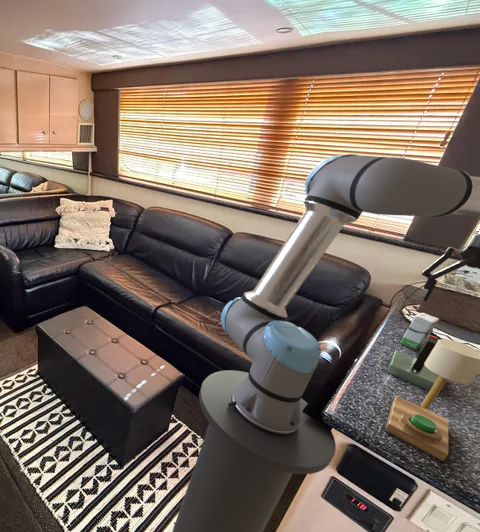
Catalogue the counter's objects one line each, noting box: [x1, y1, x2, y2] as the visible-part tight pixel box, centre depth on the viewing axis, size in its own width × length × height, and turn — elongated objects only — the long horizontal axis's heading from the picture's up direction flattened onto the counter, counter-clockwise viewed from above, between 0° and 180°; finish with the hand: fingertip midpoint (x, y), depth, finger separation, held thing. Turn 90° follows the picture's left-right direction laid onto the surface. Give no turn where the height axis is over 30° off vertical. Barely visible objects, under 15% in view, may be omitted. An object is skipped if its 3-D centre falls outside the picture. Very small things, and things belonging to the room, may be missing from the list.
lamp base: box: [384, 395, 449, 462], centre depth 78 cm, size 16×10×4 cm, turn 131°
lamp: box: [420, 338, 480, 410], centre depth 78 cm, size 8×8×18 cm
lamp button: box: [410, 414, 437, 434], centre depth 75 cm, size 4×4×2 cm
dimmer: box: [386, 349, 439, 392], centre depth 101 cm, size 14×11×3 cm
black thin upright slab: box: [412, 334, 439, 371], centre depth 98 cm, size 6×2×10 cm, turn 131°
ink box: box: [399, 312, 440, 351], centre depth 117 cm, size 9×5×12 cm, turn 120°
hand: (451, 308), depth 93 cm, fingers open, 11 cm apart
